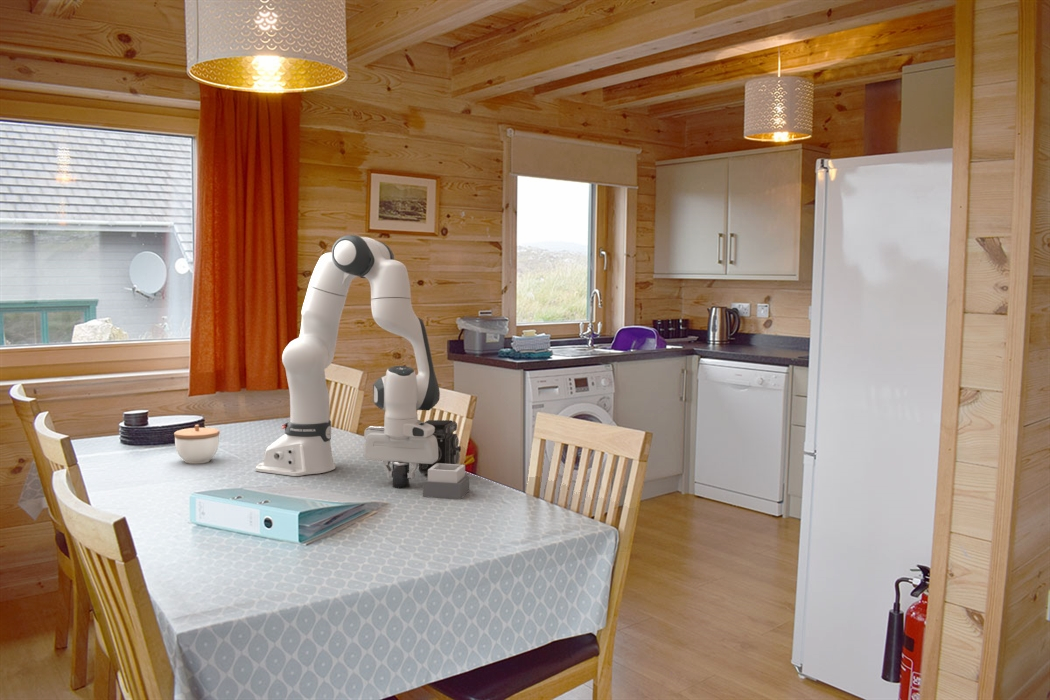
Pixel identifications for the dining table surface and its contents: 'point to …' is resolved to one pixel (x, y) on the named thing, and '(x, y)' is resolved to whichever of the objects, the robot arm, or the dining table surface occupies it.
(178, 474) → the dining table surface
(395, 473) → the lens
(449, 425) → the camera
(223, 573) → the dining table surface
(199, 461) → the lidded bowl
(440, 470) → the mount block
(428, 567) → the dining table surface
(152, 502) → the dining table surface
